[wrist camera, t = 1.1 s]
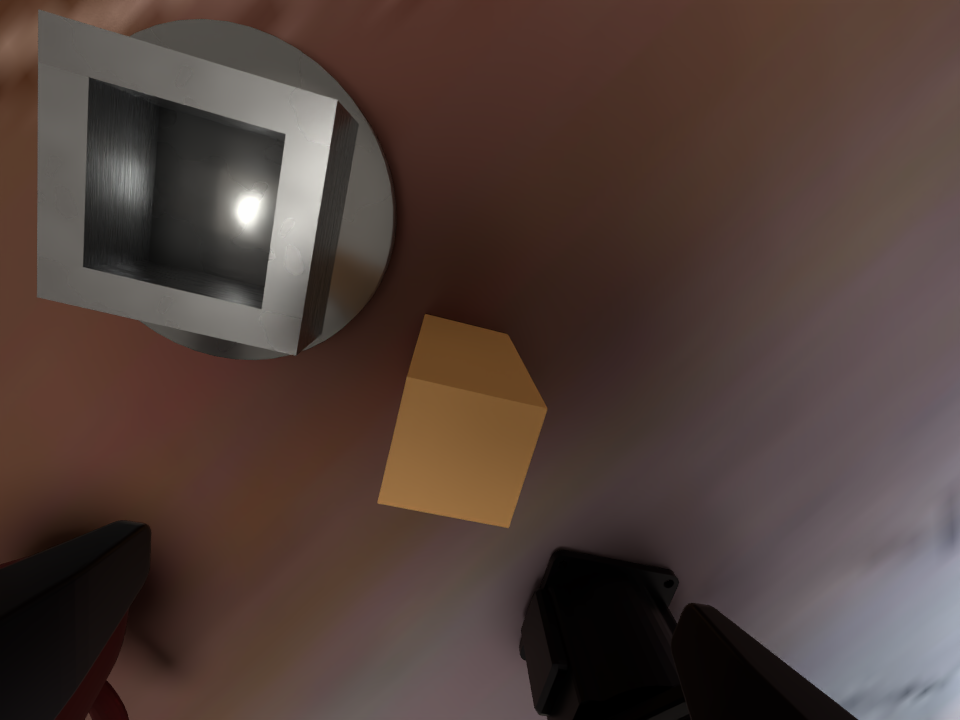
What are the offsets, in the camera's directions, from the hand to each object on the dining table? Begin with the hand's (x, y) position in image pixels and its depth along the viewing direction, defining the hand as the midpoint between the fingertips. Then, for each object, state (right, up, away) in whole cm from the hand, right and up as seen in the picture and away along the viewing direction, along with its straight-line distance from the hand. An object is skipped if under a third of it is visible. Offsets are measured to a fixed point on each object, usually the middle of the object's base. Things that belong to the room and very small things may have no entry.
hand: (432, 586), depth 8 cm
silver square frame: (-8, +9, +9) cm, 15 cm away
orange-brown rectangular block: (0, +4, +11) cm, 12 cm away
